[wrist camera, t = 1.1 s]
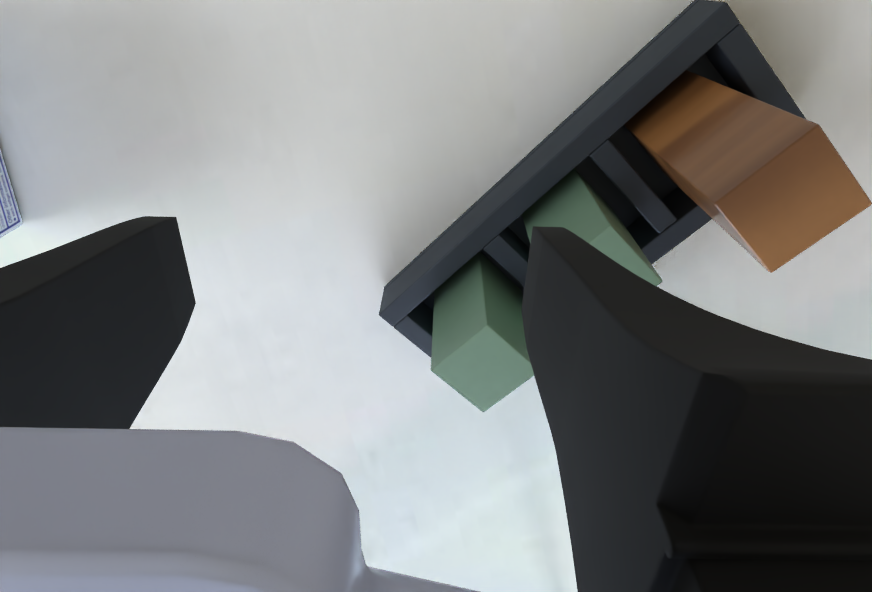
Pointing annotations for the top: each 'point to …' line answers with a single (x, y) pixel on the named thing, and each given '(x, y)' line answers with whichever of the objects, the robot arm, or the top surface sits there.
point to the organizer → (594, 165)
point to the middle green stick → (589, 223)
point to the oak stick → (749, 166)
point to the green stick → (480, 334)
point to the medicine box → (7, 203)
